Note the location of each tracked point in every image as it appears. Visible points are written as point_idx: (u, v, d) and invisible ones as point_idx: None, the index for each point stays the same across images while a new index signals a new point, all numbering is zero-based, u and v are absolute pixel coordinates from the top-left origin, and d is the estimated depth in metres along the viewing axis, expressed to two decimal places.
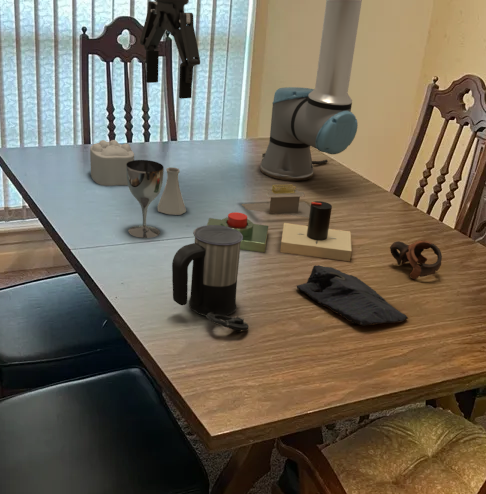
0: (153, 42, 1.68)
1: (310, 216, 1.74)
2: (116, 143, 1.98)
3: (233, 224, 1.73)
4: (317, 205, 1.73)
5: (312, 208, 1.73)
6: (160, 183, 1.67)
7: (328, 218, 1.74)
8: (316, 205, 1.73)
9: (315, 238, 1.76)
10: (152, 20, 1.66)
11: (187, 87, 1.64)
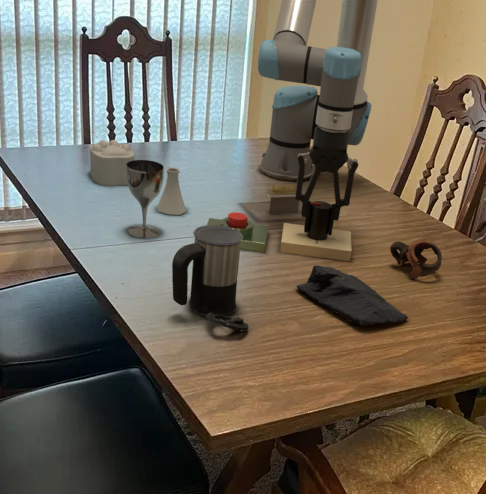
0: None
1: (310, 216, 1.74)
2: (116, 143, 1.98)
3: (233, 224, 1.73)
4: (317, 205, 1.73)
5: (312, 208, 1.73)
6: (160, 183, 1.67)
7: (328, 218, 1.74)
8: (316, 205, 1.73)
9: (315, 238, 1.76)
10: (304, 171, 1.69)
11: None
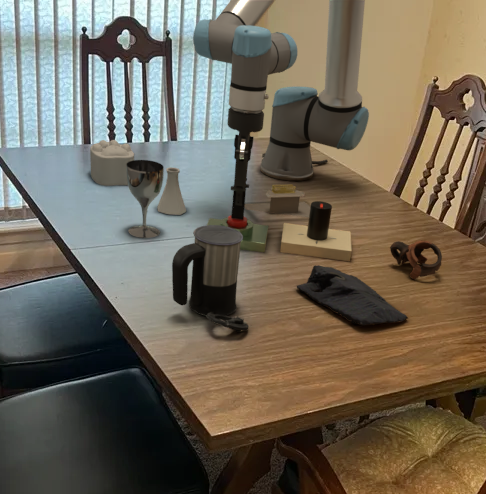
0: None
1: (324, 220, 1.73)
2: (116, 143, 1.98)
3: (233, 226, 1.73)
4: (324, 206, 1.73)
5: (326, 211, 1.72)
6: (160, 183, 1.67)
7: None
8: (325, 207, 1.73)
9: None
10: None
11: None
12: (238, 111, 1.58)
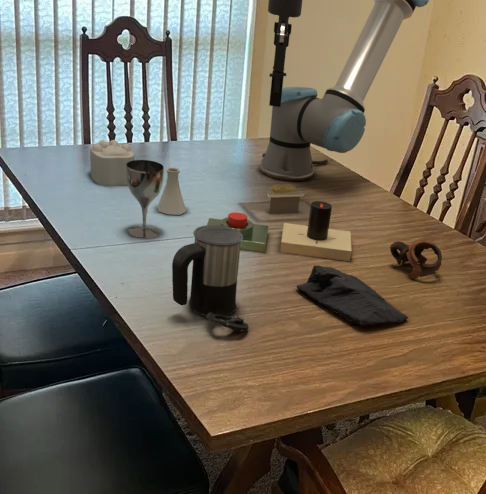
0: None
1: (324, 220, 1.73)
2: (116, 143, 1.98)
3: (233, 224, 1.73)
4: (324, 206, 1.73)
5: (326, 211, 1.72)
6: (160, 183, 1.67)
7: None
8: (325, 207, 1.73)
9: None
10: None
11: None
12: None
